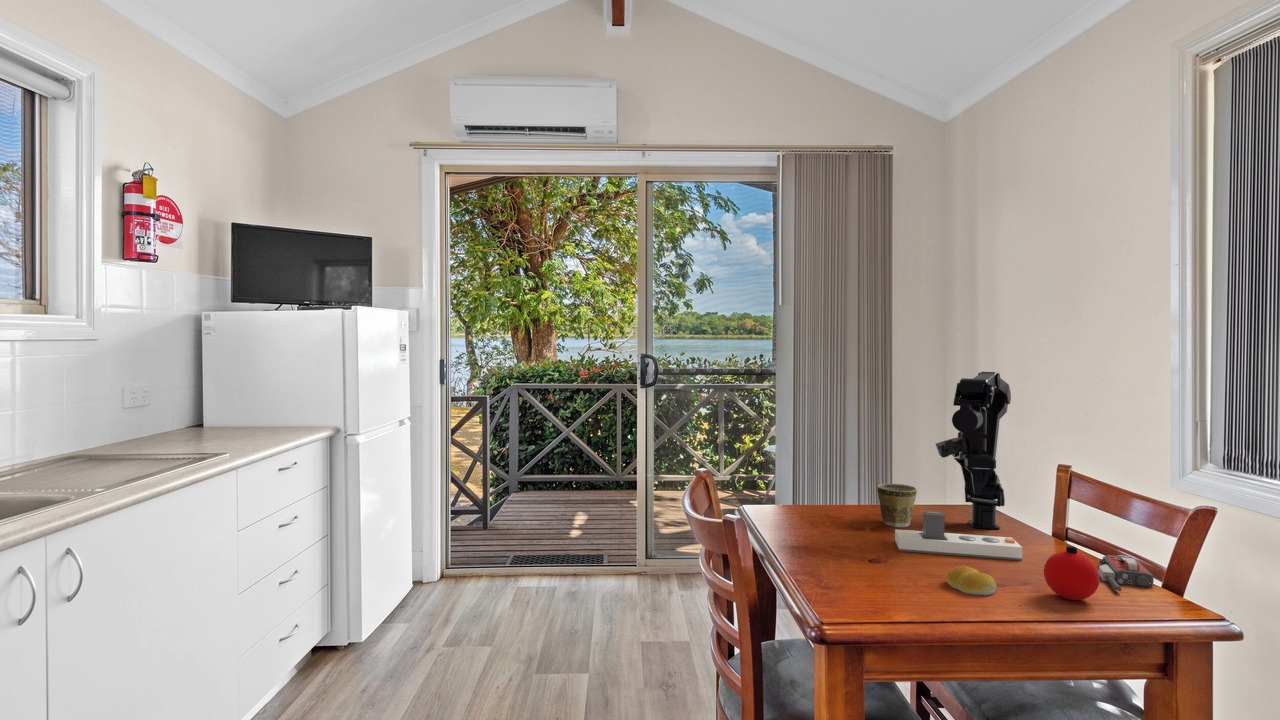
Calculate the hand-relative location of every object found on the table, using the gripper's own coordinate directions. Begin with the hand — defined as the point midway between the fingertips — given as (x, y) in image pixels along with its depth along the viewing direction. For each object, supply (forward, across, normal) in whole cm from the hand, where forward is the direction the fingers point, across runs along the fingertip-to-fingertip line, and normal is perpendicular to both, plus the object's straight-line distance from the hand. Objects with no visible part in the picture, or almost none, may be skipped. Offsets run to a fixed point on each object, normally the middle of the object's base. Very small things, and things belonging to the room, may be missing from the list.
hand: (972, 490), depth 168 cm
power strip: (+12, +12, -6) cm, 18 cm away
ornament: (+12, +39, +9) cm, 42 cm away
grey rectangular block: (+12, +12, -11) cm, 20 cm away
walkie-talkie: (+13, +25, +24) cm, 36 cm away
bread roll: (+12, +38, -8) cm, 40 cm away
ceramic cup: (+12, -11, -17) cm, 24 cm away
